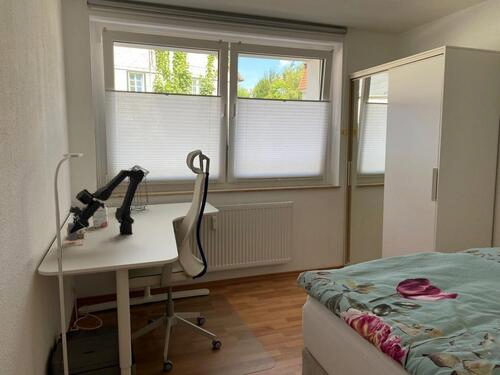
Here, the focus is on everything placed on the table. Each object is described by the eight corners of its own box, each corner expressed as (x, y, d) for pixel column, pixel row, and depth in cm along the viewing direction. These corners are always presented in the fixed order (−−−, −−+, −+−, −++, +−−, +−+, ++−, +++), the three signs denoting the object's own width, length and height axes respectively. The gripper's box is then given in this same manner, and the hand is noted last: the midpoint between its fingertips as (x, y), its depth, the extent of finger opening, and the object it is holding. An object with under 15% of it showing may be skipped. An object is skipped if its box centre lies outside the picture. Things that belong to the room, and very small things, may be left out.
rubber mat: (83, 240, 205) (83, 239, 205) (83, 245, 196) (82, 243, 196) (63, 242, 201) (63, 241, 201) (61, 247, 192) (61, 246, 192)
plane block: (84, 233, 218) (84, 226, 218) (83, 238, 208) (83, 230, 208) (69, 235, 215) (68, 227, 215) (68, 240, 205) (67, 232, 205)
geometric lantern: (123, 211, 286) (121, 165, 282) (135, 207, 300) (133, 164, 297) (141, 212, 281) (139, 165, 277) (152, 208, 296) (151, 164, 292)
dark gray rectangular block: (76, 238, 201) (75, 222, 200) (77, 240, 198) (76, 223, 196) (67, 239, 199) (66, 223, 198) (67, 241, 196) (66, 224, 194)
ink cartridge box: (108, 224, 241) (106, 202, 239) (107, 226, 237) (106, 203, 235) (94, 225, 239) (92, 203, 237) (92, 227, 234) (91, 204, 232)
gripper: (75, 197, 205) (55, 219, 201) (81, 202, 190) (58, 226, 186) (92, 210, 211) (72, 231, 206) (98, 216, 195) (76, 239, 191)
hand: (69, 232), depth 197 cm, fingers open, 4 cm apart
